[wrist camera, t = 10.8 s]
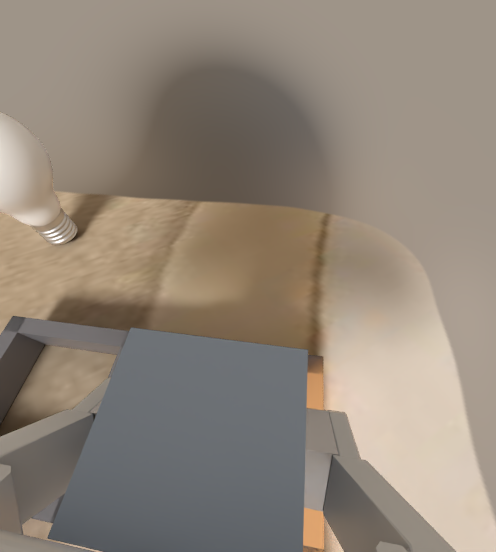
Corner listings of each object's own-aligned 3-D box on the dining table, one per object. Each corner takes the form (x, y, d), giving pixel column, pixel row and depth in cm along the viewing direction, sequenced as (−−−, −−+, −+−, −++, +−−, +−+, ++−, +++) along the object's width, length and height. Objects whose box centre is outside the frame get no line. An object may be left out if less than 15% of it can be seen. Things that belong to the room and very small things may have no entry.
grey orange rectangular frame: (-49, 481, 15) (-108, 489, 12) (39, 329, 19) (9, 314, 17) (313, 560, 13) (325, 588, 10) (315, 366, 17) (324, 355, 15)
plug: (171, 482, 11) (47, 538, 5) (194, 382, 13) (130, 327, 7) (278, 503, 11) (301, 599, 4) (285, 395, 13) (307, 349, 6)
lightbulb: (50, 212, 26) (-68, 85, 17) (111, 213, 26) (26, 84, 16) (15, 265, 23) (-156, 143, 13) (85, 268, 22) (-41, 144, 13)
